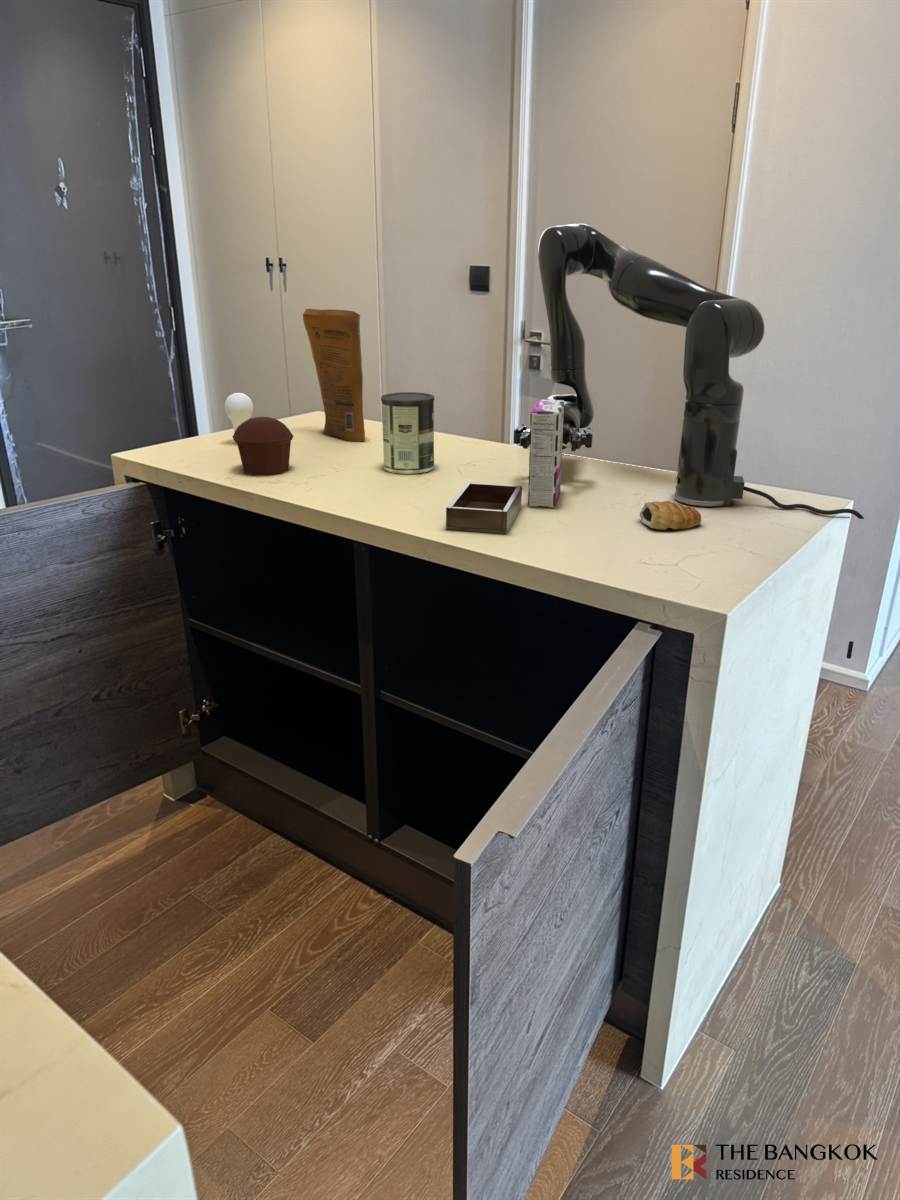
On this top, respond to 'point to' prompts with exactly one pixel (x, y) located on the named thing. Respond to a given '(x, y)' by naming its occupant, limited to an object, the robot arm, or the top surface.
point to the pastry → (669, 515)
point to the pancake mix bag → (338, 369)
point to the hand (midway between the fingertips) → (549, 444)
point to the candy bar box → (545, 453)
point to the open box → (484, 508)
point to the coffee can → (408, 432)
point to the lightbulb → (238, 408)
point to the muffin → (263, 445)
